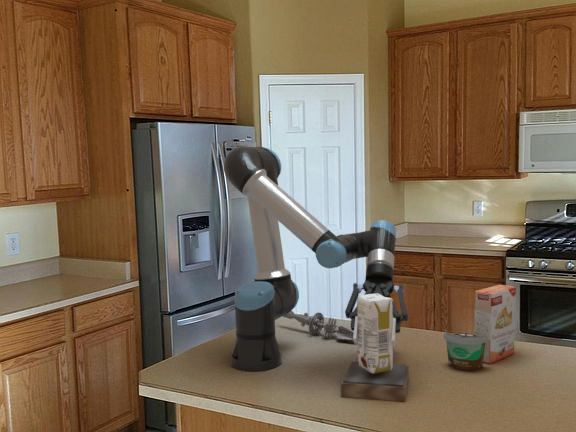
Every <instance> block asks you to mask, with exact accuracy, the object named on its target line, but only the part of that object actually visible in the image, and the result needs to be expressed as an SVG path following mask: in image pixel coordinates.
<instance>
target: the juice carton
mask: <svg viewBox="0 0 576 432" xmlns="http://www.w3.org/2000/svg"><path fill="white" fill-rule="evenodd" d="M392 300H393V298H392V297H391V298H388V297H384V296H382V295H380V294H378V293H376V294H366V295H364V294H360V295H358V298H357V305H358V308H357V309H358V341H357V359H358V361H357V362H359V366H360V367H362V368H364V369H366V370H367V371H369V372H370V373H379V372H384V371H390V370H392V367H393V364H394V362H393V361H394V355H393V346H392V341H391V339H392V324H393V318H394V316H393V306H392Z"/></svg>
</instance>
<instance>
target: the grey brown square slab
mask: <svg viewBox="0 0 576 432" xmlns="http://www.w3.org/2000/svg"><path fill="white" fill-rule="evenodd" d="M409 369H410V366H409V365H407V364H397V363H395V364H394V363H393V367H392V370H390V371H384V372H379V373H370V372H369V371H367V370H366V369H364V368H362V367H360V366H359V361H351V362H349V364H348V367H347V369H346V370H345V373H344V375H343V378H342V379H341V383H340V397H341V398H352V399H354V398H355V399H366V400H367V399H368V400H380V401H393V402H406V398H407V393H408V392H407V391H408V385H409V378H410V376H409V375H410V374H409V373H410V372H409Z"/></svg>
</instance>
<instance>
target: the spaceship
mask: <svg viewBox="0 0 576 432" xmlns="http://www.w3.org/2000/svg"><path fill="white" fill-rule="evenodd" d="M282 317H283V318H287V319H289V320H290V319H292V320H293V319H294V320H295V321H297V322H298V323H300V326H301V327H305V326H308V331H309V333H310V334H311V335H312V336H317V335H319V333H321V331H324V335H323V338H326V339H329V340H331V339H332V337H333V334H335V336H336V337H337V339H339V340H343V341H351V342H352V341H353V342H354V340H353V336H354V331H353V330H351V327H345V326H344V325H339V326H338V325H336V324H337V319H336V318H335V319H334V318H331V317H329V319H328V322H325V316H324V314H323V313H321V312H316V313H314V314H313V315H312V316H309V313H308V312H304V314H301V313H300V314H299V313H298V314H297V313H295V312H294V311H293V310H291V312H289V313H288V314H287V315H284V316H282ZM316 334H317V335H316Z"/></svg>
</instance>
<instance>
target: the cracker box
mask: <svg viewBox="0 0 576 432" xmlns="http://www.w3.org/2000/svg"><path fill="white" fill-rule="evenodd" d="M516 292H517V287H516V286H513V285H505V284H496V285H494V286H489V287H486V288H485V287H484V288H481V289H477V290H475V291H474V328H473V331H474V332H473V335H479V336H482V335H485V334H486V335H487V337H488V341H487V342H486V343H485V350H484V359H483V363H486V364H490V365H491V364H493V363H495V362H497V361H501V360H503V359H504V358H506V357H510V356H511V355H512V356H513V355H514V354H515V335H516V334H515V333H516V332H515V331H516V330H515V329H516V297H517V295H516V294H517V293H516Z"/></svg>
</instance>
